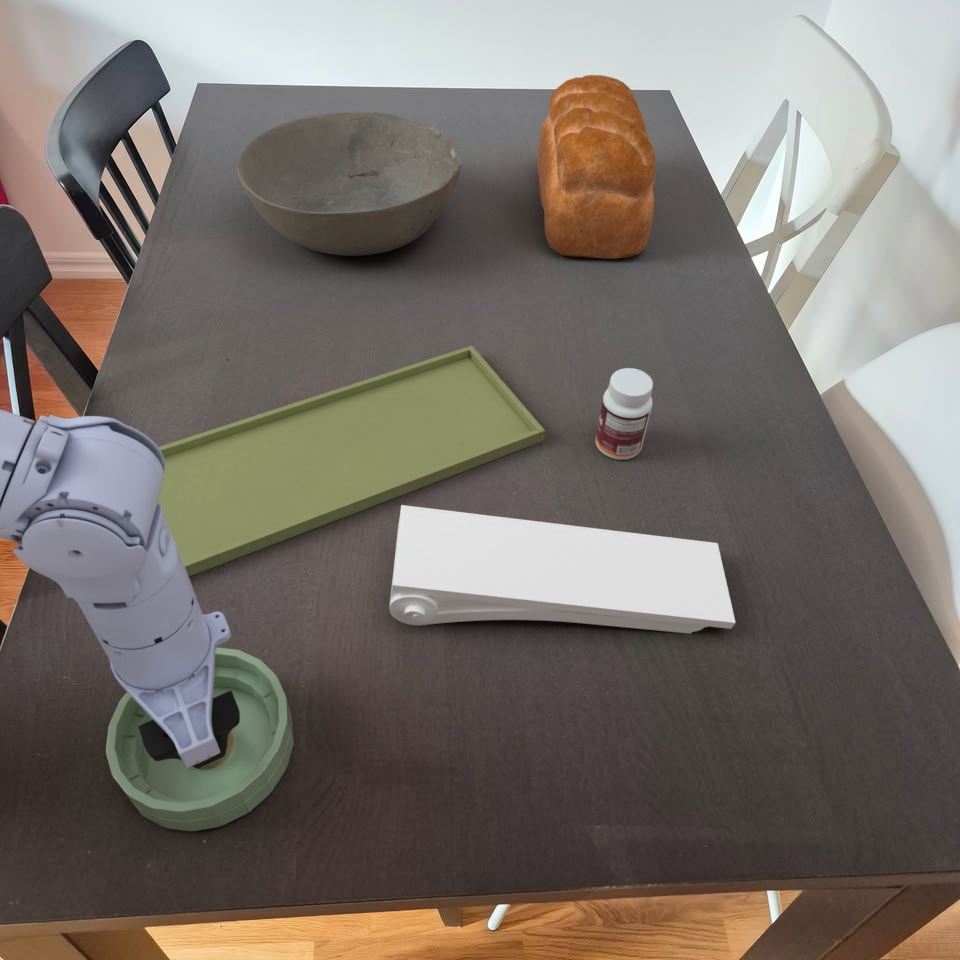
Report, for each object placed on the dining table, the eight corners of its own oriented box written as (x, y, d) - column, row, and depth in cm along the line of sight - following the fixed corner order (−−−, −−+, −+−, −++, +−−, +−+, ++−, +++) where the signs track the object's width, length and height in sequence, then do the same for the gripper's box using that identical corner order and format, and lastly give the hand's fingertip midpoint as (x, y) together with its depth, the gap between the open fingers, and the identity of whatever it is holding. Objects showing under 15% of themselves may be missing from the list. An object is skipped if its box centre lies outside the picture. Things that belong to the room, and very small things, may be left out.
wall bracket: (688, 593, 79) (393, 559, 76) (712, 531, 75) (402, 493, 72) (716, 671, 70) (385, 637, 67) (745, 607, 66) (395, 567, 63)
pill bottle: (604, 422, 86) (616, 359, 80) (648, 437, 85) (664, 374, 79) (587, 451, 83) (598, 387, 77) (632, 467, 82) (647, 404, 76)
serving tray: (152, 591, 70) (147, 580, 69) (111, 474, 79) (106, 463, 78) (544, 440, 84) (545, 430, 83) (471, 355, 93) (472, 345, 92)
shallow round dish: (147, 866, 56) (130, 845, 53) (105, 716, 63) (89, 690, 60) (319, 781, 60) (312, 757, 57) (262, 650, 67) (253, 622, 64)
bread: (543, 261, 106) (555, 143, 95) (533, 162, 124) (542, 53, 113) (652, 264, 107) (676, 146, 95) (626, 164, 125) (644, 56, 113)
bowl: (491, 260, 106) (495, 187, 99) (276, 303, 98) (263, 227, 91) (419, 162, 123) (417, 93, 116) (231, 192, 115) (216, 121, 108)
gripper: (252, 677, 45) (287, 780, 55) (177, 497, 53) (219, 615, 63) (118, 735, 42) (180, 832, 52) (62, 538, 51) (125, 654, 61)
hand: (195, 717), depth 58 cm, fingers open, 6 cm apart
